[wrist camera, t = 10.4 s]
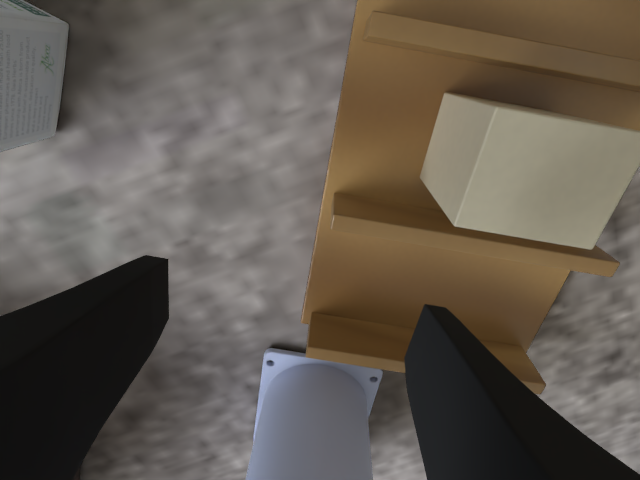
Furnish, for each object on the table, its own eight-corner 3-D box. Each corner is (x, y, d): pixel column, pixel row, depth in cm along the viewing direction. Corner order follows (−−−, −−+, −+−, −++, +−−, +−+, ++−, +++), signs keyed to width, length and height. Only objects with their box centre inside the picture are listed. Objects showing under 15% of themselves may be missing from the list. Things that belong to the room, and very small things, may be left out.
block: (517, 194, 18) (593, 251, 13) (418, 177, 18) (453, 227, 13) (553, 111, 16) (658, 134, 11) (444, 91, 16) (496, 105, 11)
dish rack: (516, 347, 24) (548, 399, 20) (301, 313, 23) (295, 359, 20) (782, -159, 13) (951, -243, 9) (399, -240, 13) (423, -360, 9)
